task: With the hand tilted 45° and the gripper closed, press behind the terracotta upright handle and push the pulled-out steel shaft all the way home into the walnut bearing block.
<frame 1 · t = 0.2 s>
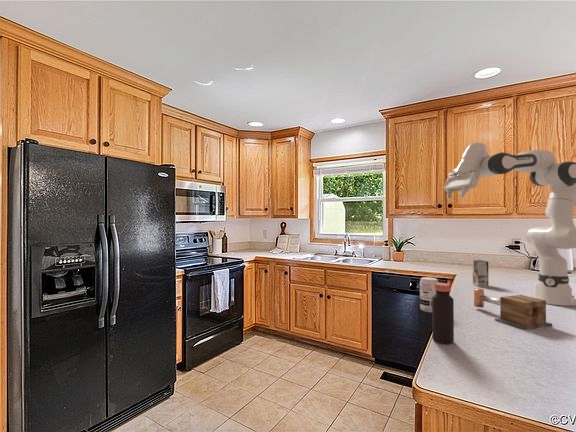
hand: (454, 197, 154), 54 cm above the counter, tool tilted 25°, fingers open, 8 cm apart
bearing block: (522, 322, 130), on the counter
coffee box: (480, 286, 203), on the counter
shaft: (494, 301, 142), point 5 cm above the counter, slide at 8.0 cm
bottle: (443, 341, 111), on the counter
supplement can: (429, 310, 148), on the counter
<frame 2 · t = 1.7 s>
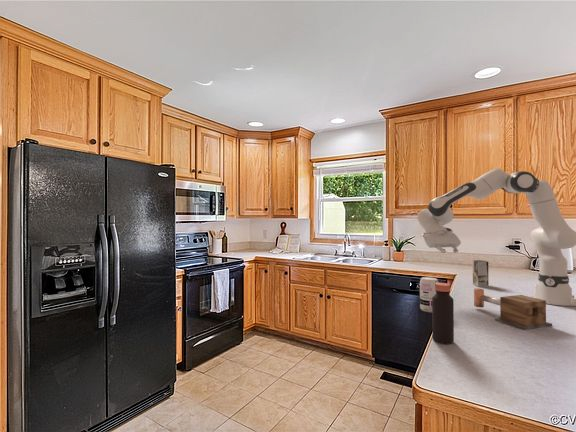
hand: (450, 252, 166), 26 cm above the counter, tool tilted 45°, fingers open, 7 cm apart
nothing on the counter moved.
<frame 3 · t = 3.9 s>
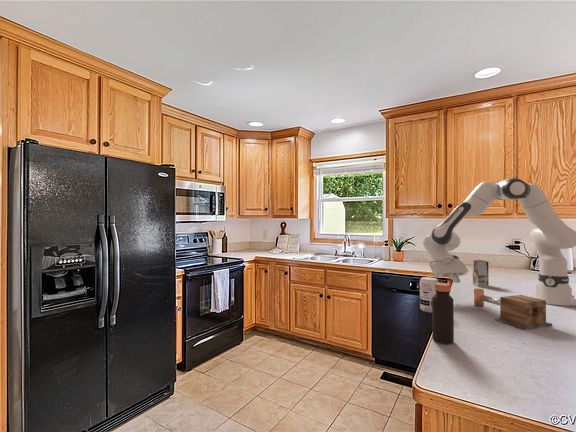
hand: (457, 282, 161), 11 cm above the counter, tool tilted 45°, fingers closed
nothing on the counter moved.
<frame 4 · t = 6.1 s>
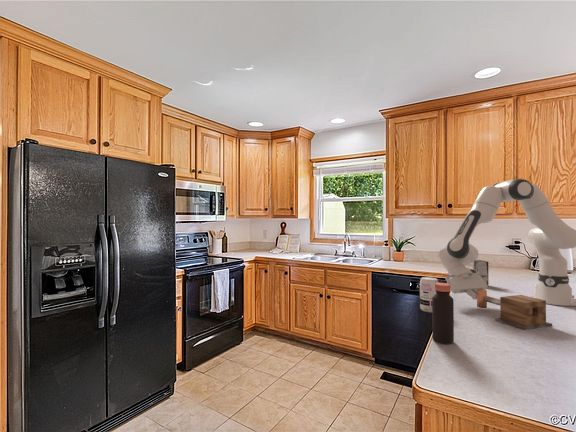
hand: (477, 298, 151), 5 cm above the counter, tool tilted 45°, fingers closed, pressing on shaft
shaft: (497, 302, 141), point 5 cm above the counter, slide at 6.5 cm, touching gripper
everything else where it was.
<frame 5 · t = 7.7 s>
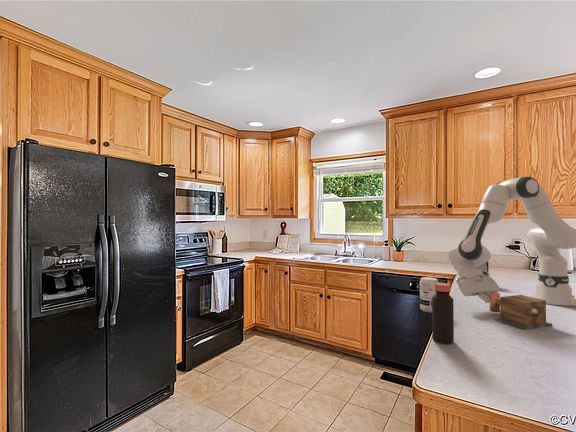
hand: (489, 302, 144), 5 cm above the counter, tool tilted 45°, fingers closed, pressing on shaft
shaft: (511, 306, 135), point 5 cm above the counter, slide at -0.1 cm, touching gripper
everything else where it was.
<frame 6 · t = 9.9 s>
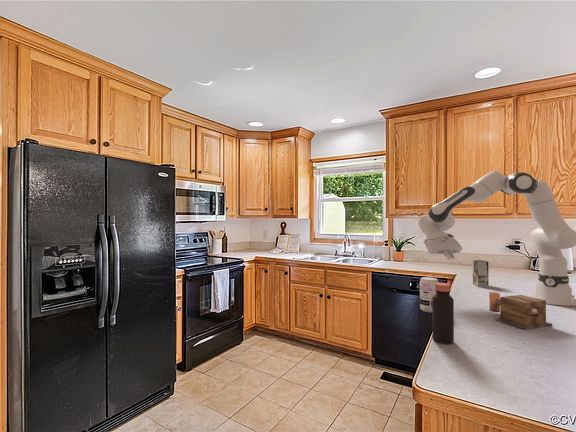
hand: (452, 258, 165), 22 cm above the counter, tool tilted 45°, fingers closed
shaft: (511, 306, 135), point 5 cm above the counter, slide at 0.0 cm
everything else where it was.
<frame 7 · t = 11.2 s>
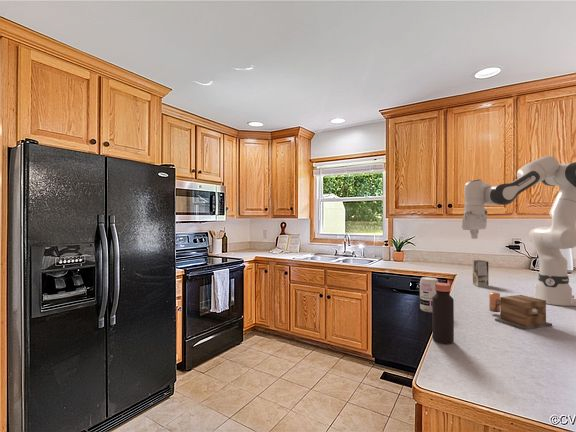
hand: (474, 238, 161), 33 cm above the counter, tool pointing down, fingers closed
nothing on the counter moved.
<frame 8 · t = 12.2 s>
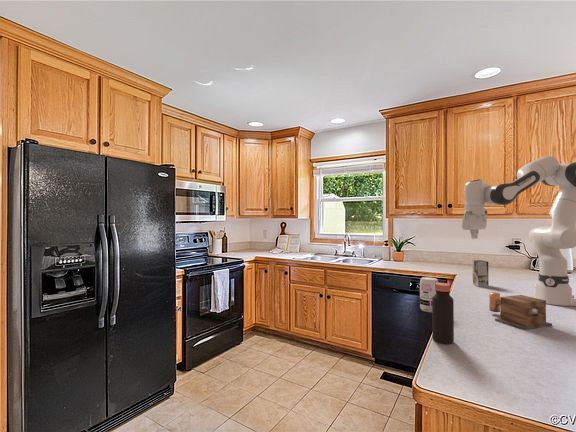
hand: (474, 238, 161), 33 cm above the counter, tool pointing down, fingers closed
nothing on the counter moved.
at the end: shaft slide at 0.0 cm; supplement can moved 0.2 cm from its start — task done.
